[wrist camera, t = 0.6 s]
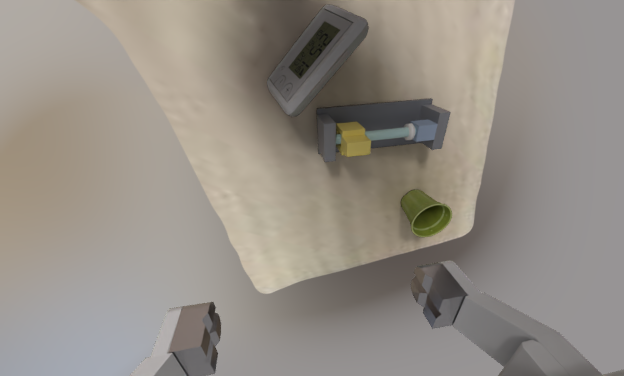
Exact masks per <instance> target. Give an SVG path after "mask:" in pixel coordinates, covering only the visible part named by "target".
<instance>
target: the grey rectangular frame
mask: <svg viewBox="0 0 624 376" xmlns="http://www.w3.org/2000/svg"><path fill="white" fill-rule="evenodd" d="M432 100H433V99H431V98H430V99H419V100H407V101H396V102H385V103H373V104H362V105H351V106H340V107H328V108H317V132H318V154H321V155H322V157H323V159H324V161H325V162H329V161H335V157H336V152H339V150H338V149H337V147H336V144H341V134H336V124H337V123H347V122H358V123H359V124H360V125H361V126H362V127H364V128H365V135H366V136H367V137H368V138H369V139H370V140H371V148H378V147H387V146H396V145H405V144H414V143H423V144H424V145H426V146H427V147H429V148H430V149H431V150H434V149H441V148H442V144H443V140H444V136H445V132H446V128H447V124H448V120H449V116H450V112H449V111H447V110H444V109H442V108H439V107H437V106H434V105H432Z"/></svg>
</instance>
